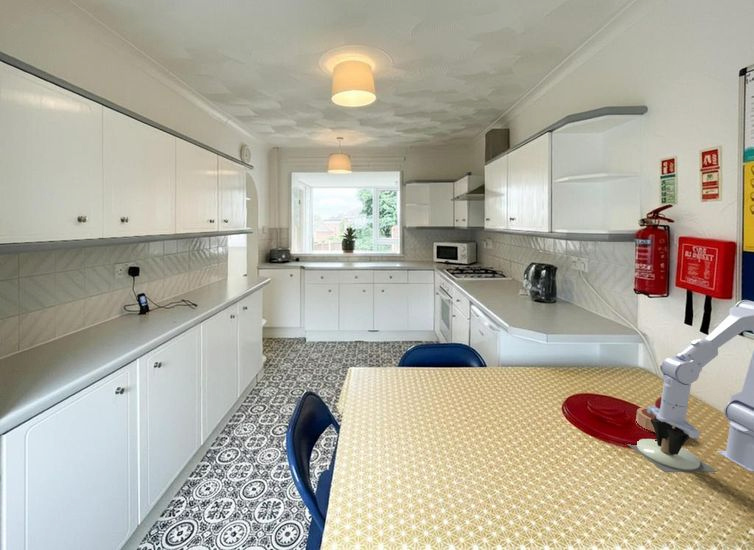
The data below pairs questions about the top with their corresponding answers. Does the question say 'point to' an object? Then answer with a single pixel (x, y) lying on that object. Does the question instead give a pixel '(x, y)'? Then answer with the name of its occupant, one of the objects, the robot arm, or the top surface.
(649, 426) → the bowl
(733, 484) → the top surface
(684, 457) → the lid
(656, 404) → the onion
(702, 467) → the mat
